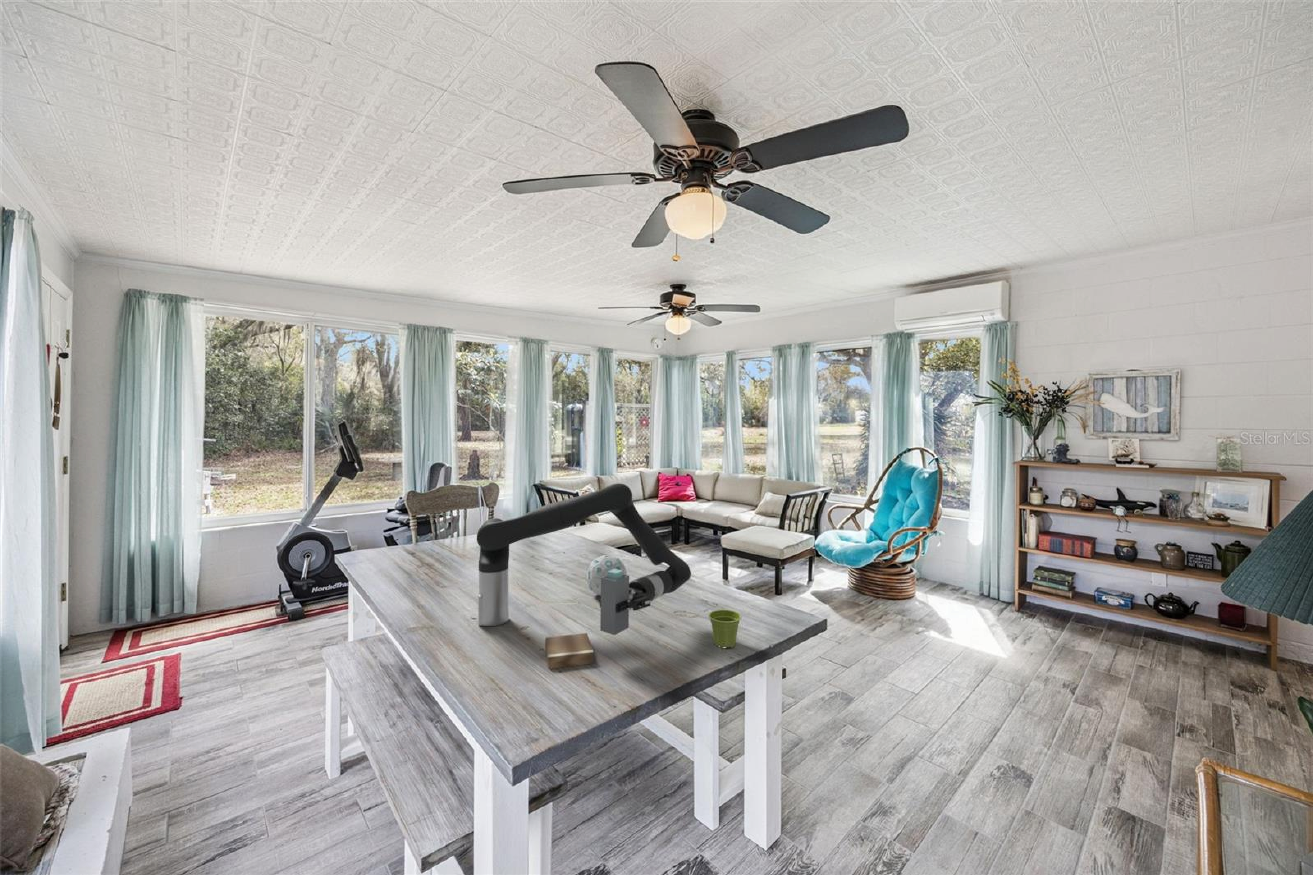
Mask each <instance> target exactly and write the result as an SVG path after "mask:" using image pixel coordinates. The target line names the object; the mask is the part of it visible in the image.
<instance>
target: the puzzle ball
mask: <svg viewBox="0 0 1313 875" xmlns="http://www.w3.org/2000/svg"><path fill="white" fill-rule="evenodd" d="M613 569H618V570H622V571H623V574H625V575H628V573H627V570H626V565H625V564H624V563H623V562H622V561H621V560H620V559H619V558H618V557H616V556H614V555H609V554H608V555H607V554H605V555H604V554H603V555H601V556H598V557H596V558H595V559H593V560H592V561H591V563H589V566H587V569H586V570H587V571H586V582H587V585H588V587H589V590H591V591H592V592H593V594H595V595H598V596H599V597H601V577H604V576H606V575H607V571H610V570H613Z"/></svg>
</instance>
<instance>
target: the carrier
mask: <svg viewBox="0 0 1313 875" xmlns="http://www.w3.org/2000/svg"><path fill="white" fill-rule="evenodd" d="M629 583H630V575H629V574H627V575H625V574H623V577H622V578H620V579H617V580H612V579H608V578H607V575H606V576H604V577H601V596H600V600H601V608H600V618H599V619H600V624H599V625H600V626H599V628H600V631H601V632H603V633H607V634H610V635H612V636H616V635H618V634H620V633H622V632H623V631H625V630H627V629H629V626H630V625H629V624H630V622H629V621H630V620H629V619H630V615H629V614H630V611H629V610H630V609H629V610H627V609H626V610H624V611H621V612H619V613H617V612H616V604H618V603H620V602H622V601H626V600H627V599H628V598H629Z"/></svg>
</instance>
